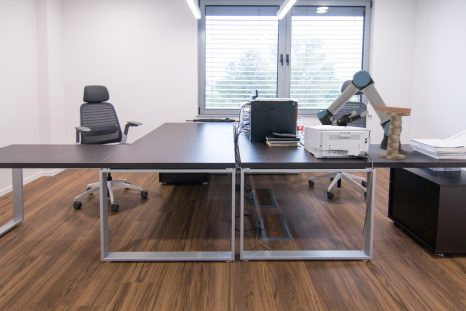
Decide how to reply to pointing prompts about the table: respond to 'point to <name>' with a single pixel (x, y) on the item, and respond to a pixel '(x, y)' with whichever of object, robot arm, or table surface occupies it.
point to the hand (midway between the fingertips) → (361, 111)
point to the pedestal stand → (394, 136)
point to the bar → (393, 109)
